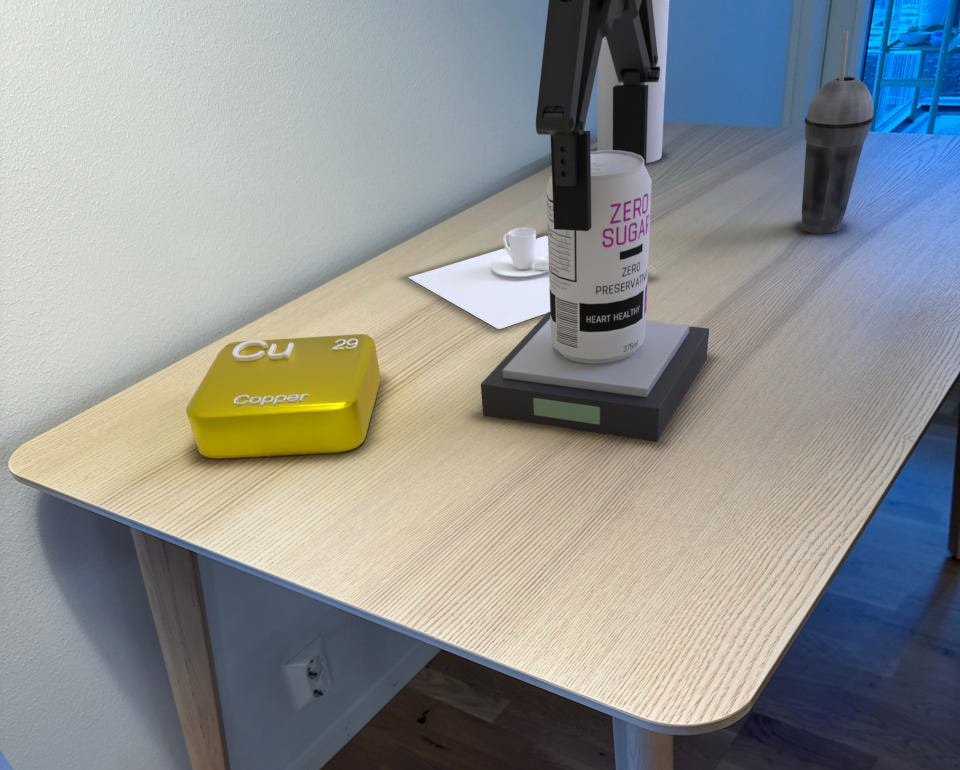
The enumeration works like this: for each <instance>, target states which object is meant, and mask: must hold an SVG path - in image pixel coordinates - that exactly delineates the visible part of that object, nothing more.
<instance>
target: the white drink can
mask: <svg viewBox="0 0 960 770" xmlns="http://www.w3.org/2000/svg"><path fill="white" fill-rule="evenodd" d="M590 152H591V229H590V230H589V231H575V230H556V229H554V215H553V188H552V174H551V175H550V177H549V180H548V182H547V184H546V214H547V216H546V217H547V218H546V219H547V236H548V253H549V286H550V320H551V341H552V344H553V347H554V348H555V349H557V350H558V351H559V352H560V354H561V355H563V356H564V357H565V358H567V359H570V360H573V361H576V362H581V363H588V364H599V363H609V362H614V361H619V360H621V359H624V358H626V357H628V356H630V355H631V354H632V353H634V352H635V351H636V349H637V348H638V347H639V346H641V345H642V344H643V341H644V338H645V325H646V321H647V320H646V319H647V301H648V300H647V299H648V298H647V297H648V279H647V278H649V277H648V274H649V252H650V230H651V229H650V226H651V205H652V204H651V203H652V182H653V180H652V179H651V176H650V174H649V172H648V170H647V166H646V167H645V165H644V159H643V158H642V156H640V155H638V154H635V153H633V152H626V151H619V150H599V151H597V150H590Z"/></svg>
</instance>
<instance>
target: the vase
mask: <svg viewBox="0 0 960 770" xmlns="http://www.w3.org/2000/svg"><path fill="white" fill-rule="evenodd" d="M652 4H653V14H654V24H655V34H656V44H657V53H658V63H657V65H656V67H660V77H659V81H658V82H645V85H648V116H647V154H646V164H650V163H654V162H657V161H659V160H660V159H662V156H663V155H662V154H663V139H664V138H663V137H664V136H663V135H664V116H665V95H666V77H667V75H666V73H667V72H666V71H667V58H668V57H667V56H668V55H667V54H668V36H669V35H668V33H669V13H670V0H652ZM616 85H623V83H619V82H618V79H617V75H616V72H615V68H614V64H613V61H612V57H611V54H610V50H609V46H608V43H607V39H606V37H604V38H603V40H602V44H601V49H600V54H599V59H598V64H597V117H596V118H597V121H596V122H597V123H596V124H597V125H596V127H597V130H596V131H597V132H596V134H597V135H596V136H597V137H596V138H597V139H596V141H597V142H596V146H597V147H596V151H599V150H613V87H614V86H616Z"/></svg>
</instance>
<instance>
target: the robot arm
mask: <svg viewBox="0 0 960 770" xmlns="http://www.w3.org/2000/svg"><path fill="white" fill-rule="evenodd" d="M545 23H546V24H545V34H544V42H543V43H544V44H543V50H542V59H541V69H540V77H539V87H538V96H537V106H536V115H535V129H536V133H537V135H539V136H550V159H551V175H552V188H553V215H554V229H556V230H575V231H589V230H590V229H591V152H590V151H591V130H585V128H586V127H585V126H586V122H587V117H588V112H589V108H590V102H591V97H592V93H593V88H594V83H595V78H596V73H597V70H598V59H599V54H600V49H601V44H602V40H603V38H606V39H607V43H608V46H609V50H610V54H611V57H612V61H613V64H614V68H615V72H616V75H617V79H618V82H619V83H623V85H616V86H614V87H613V150H619V151H626V152H633V153H635V154H638V155H640V156H642V158H643V159H644V165H645V167H646V168H647V163H646V154H647V116H648V85H645V82H658V81H659V77H660V67H656V65H657V63H658V53H657V44H656V34H655V24H654V14H653V4H652V0H548V5H547V13H546V22H545Z"/></svg>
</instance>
